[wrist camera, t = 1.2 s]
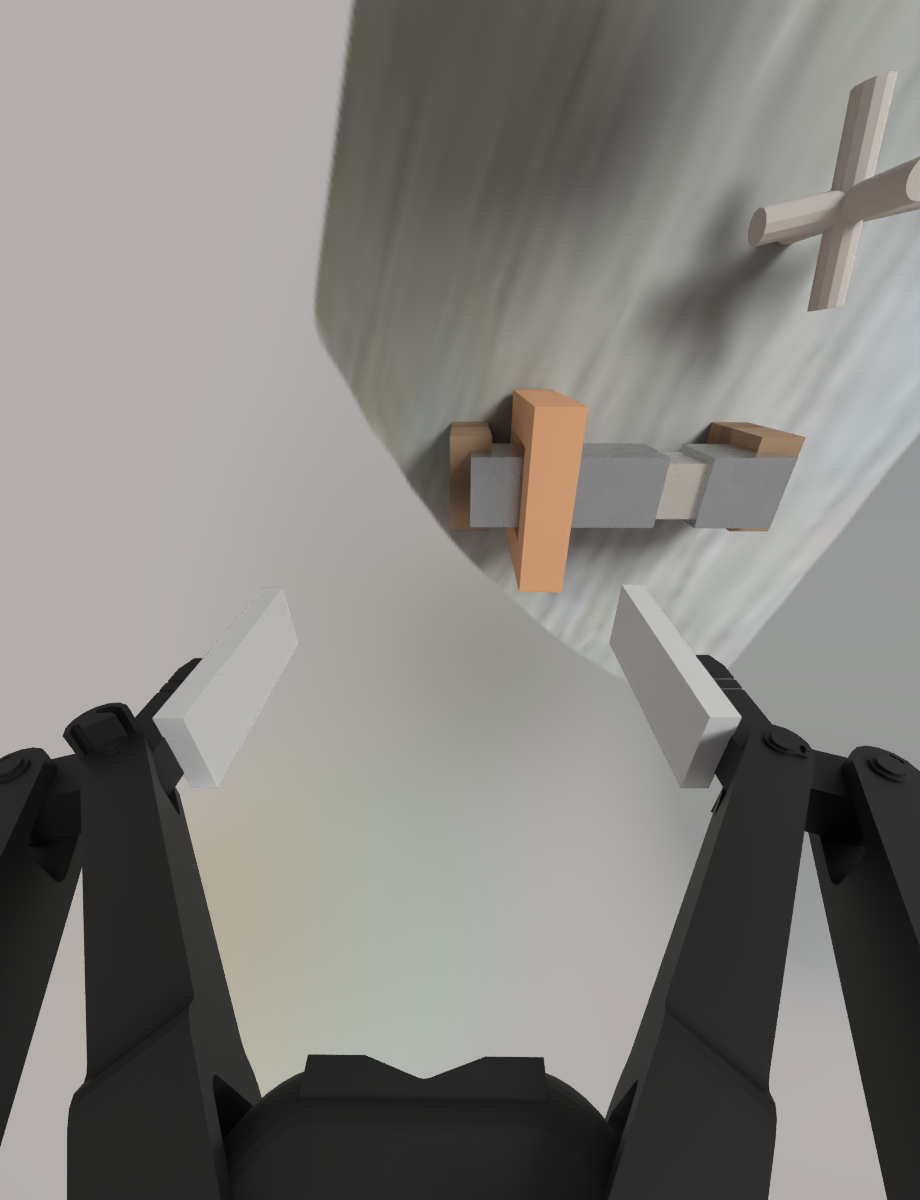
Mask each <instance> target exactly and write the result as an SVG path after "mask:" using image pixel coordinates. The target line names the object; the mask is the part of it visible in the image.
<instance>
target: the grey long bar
mask: <svg viewBox="0 0 920 1200" xmlns="http://www.w3.org/2000/svg"><path fill="white" fill-rule="evenodd" d="M524 456H525V446H524V445H523V443H492V451H471V467H470V527H519V521H520V508H521V495H522V482H523V469H524ZM797 459H798V458H795V457H792V456H789V455H786V454H783V453H780V452H756V451H753V450H750V449H747V448H744V447H742V446H739V445H736V444H682V447H681V451H680V452H659V451H657V450H655V449H653V448H651V447H649V446H647V445H645V444H583V448H582V455H581V462H580V469H579V476H578V483H577V490H576V497H575V503H574V510H573V517H572V524H571V528H653V527H654V523H655V519H683V520H684V521H686V522H687V523H688V524H689V525H691V526H692V527H693V528H770V526H771V523H772V521H773V518H774V516H775V513H776V511H777V508H778V506H779V503H780V501H781V498H782V496H783V493H784V491H785V488H786V486H787V484H788V481H789V479H790V476H791V474H792V471H793V469H794V466H795V464H796V461H797Z"/></svg>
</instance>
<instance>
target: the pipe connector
mask: <svg viewBox="0 0 920 1200" xmlns="http://www.w3.org/2000/svg"><path fill="white" fill-rule="evenodd" d="M896 77H897V71H892V72H887V73H884V74H881V75H878V76H875V77H873V78H871V79H869V80H866V81H864V82H862V83H861V84H859V85H857V86H855V87H854V88H853V89H852V90H851V91H850V96H849V101H848V106H847V112H846V117H845V122H844V127H843V132H842V137H841V142H840V147H839V152H838V157H837V163H836V168H835V173H834V178H833V183H832V188H831V191H828V192H824V193H820V194H815V195H811V196H807V197H803V198H799V199H794V200H790V201H786V202H782V203H778V204H773V205H769V206H765V207H761V208H759V209H758V210H757V211H756V212H755V213H754V215H753V217H752V219H751V221H750V226H749V230H748V241H749V244H750V246H753V247H756V246H760V245H765V244H769V243H773V242H779V243H780V244H782V245H788V244H791V243H794V242H797V241H800V240H803V239H806V238H809V237H812V236H815V235H818V234H822V233H823V234H822V239H821V244H820V249H819V254H818V259H817V265H816V270H815V275H814V280H813V285H812V290H811V295H810V300H809V305H808V310H807V311H815V310H822V309H827V308H832V307H837V306H842V305H844V302H845V297H846V293H847V289H848V284H849V280H850V276H851V271H852V267H853V263H854V258H855V254H856V250H857V245H858V241H859V237H860V233H861V228H862V224H863V222H865V221H869V220H874V219H878V218H882V217H887V216H891V215H896V214H900V213H904V212H909V211H913V210H917V209H920V157H917V158H915V159H913V160H910V161H908V162H906V163H903V164H901V165H899V166H896V167H894V168H892V169H889V170H887V171H885V172H882V173H880V174H878V175H875V176H874V172H875V168H876V163H877V159H878V155H879V150H880V146H881V142H882V137H883V133H884V129H885V125H886V120H887V116H888V112H889V107H890V103H891V99H892V94H893V90H894V86H895V81H896Z"/></svg>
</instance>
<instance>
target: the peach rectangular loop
mask: <svg viewBox="0 0 920 1200" xmlns="http://www.w3.org/2000/svg"><path fill="white" fill-rule="evenodd" d="M587 414H588V406H585V405H583V404H581V403H579V402H577V401H574V400H572V399H570V398H568V397H566V396H563V395H561V394H559V393H557V392H555V391H553V390H514V391H513V408H512V425H511V442H510V443H523V445H524V446H525V456H524V469H523V482H522V495H521V508H520V521H519V527H505V531H506V535H507V540H508V544H509V549H510V553H511V558H512V562H513V566H514V571H515V575H516V580H517V584H518V589H519V592H562V586H563V579H564V572H565V565H566V559H567V552H568V545H569V538H570V531H571V524H572V517H573V510H574V503H575V497H576V490H577V483H578V476H579V469H580V462H581V455H582V448H583V441H584V434H585V428H586V421H587Z"/></svg>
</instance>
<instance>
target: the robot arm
mask: <svg viewBox="0 0 920 1200" xmlns="http://www.w3.org/2000/svg"><path fill="white" fill-rule="evenodd" d="M610 645H611V647H612V649H613V651H614V653H615V655H616V657H617V659H618V661H619V663H620V665H621V667H622V670H623V672H624V674H625V676H626V678H627V680H628V682H629V684H630V686H631V688H632V690H633V692H634V694H635V696H636V698H637V700H638V702H639V704H640V706H641V708H642V710H643V712H644V714H645V717H646V718H647V721H648V723H649V725H650V727H651V729H652V731H653V733H654V735H655V737H656V739H657V741H658V743H659V745H660V747H661V749H662V751H663V753H664V755H665V757H666V759H667V761H668V763H669V766H670V768H671V770H672V772H673V774H674V776H675V778H676V780H677V782H678V784H679V786H680V788H709V786H710V784H711V782H712V780H713V777H714V775H715V774H716V776H717V777H718V779H719V781H720V783H721V784H722V786H723V788H722V790H721V792H720V794H719V796H718V798H717V800H716V802H715V805H714V806H713V808H712V810H711V812H713V815H712V818H711V821H710V824H709V827H708V829H707V832H706V835H705V838H704V841H703V844H702V847H701V850H700V853H699V855H698V859H697V861H696V864H695V868H694V870H693V873H692V876H691V879H690V882H689V885H688V888H687V890H686V894H685V896H684V899H683V902H682V905H681V908H680V911H679V914H678V917H677V920H676V922H675V925H674V928H673V931H672V934H671V937H670V940H669V943H668V946H667V949H666V952H665V954H664V957H663V960H662V963H661V966H660V969H659V972H658V975H657V978H656V981H655V984H654V987H653V989H652V992H651V995H650V998H649V1001H648V1004H647V1007H646V1010H645V1013H644V1016H643V1018H642V1021H641V1025H640V1027H639V1030H638V1033H637V1036H636V1039H635V1042H634V1045H633V1047H632V1050H631V1053H630V1055H629V1058H628V1061H627V1063H626V1065H625V1067H624V1070H623V1072H622V1074H621V1077H620V1080H619V1082H618V1084H617V1087H616V1090H615V1092H614V1095H613V1098H612V1100H611V1103H610V1106H609V1109H608V1112H607V1115H606V1118H605V1119H604V1118H603V1116H602V1115H601V1114H600V1113H599V1111H598V1110H597V1109H596V1108H595V1107H593V1105H592V1104H591V1103H590V1102H589V1101H588V1100H587V1099H586V1098H585V1097H583V1096H582V1095H581V1094H580V1093H579V1092H577V1091H576V1090H575V1089H574V1088H572V1087H571V1086H570V1085H568V1084H566V1083H565V1082H563V1081H561V1080H560V1079H558V1078H556V1077H554V1076H551V1075H549V1074H547V1073H545V1066H544V1058H543V1057H542V1058H541V1057H483V1058H481V1059H478V1060H476V1061H473V1062H470V1063H468V1064H465V1065H463V1066H460V1067H457V1068H455V1069H452V1070H449V1071H447V1072H444V1073H441V1074H439V1075H436V1076H434V1077H431V1078H428V1079H421V1078H418V1077H415V1076H413V1075H410V1074H408V1073H406V1072H403V1071H401V1070H399V1069H396V1068H394V1067H392V1066H389V1065H387V1064H385V1063H382V1062H380V1061H378V1060H375V1059H373V1058H371V1057H368V1056H366V1055H308V1057H307V1062H306V1067H305V1071H304V1072H302V1073H299V1074H297V1075H295V1076H293V1077H291V1078H289V1079H288V1080H286V1081H284V1082H282V1083H281V1084H279V1085H278V1086H277V1087H275V1088H274V1089H273V1090H271V1091H270V1092H268V1093H267V1094H266V1095H265V1096H264V1097H263V1098H262V1097H261V1094H260V1090H259V1087H258V1083H257V1081H256V1078H255V1075H254V1073H253V1070H252V1068H251V1065H250V1063H249V1061H248V1059H247V1056H246V1054H245V1051H244V1048H243V1045H242V1042H241V1038H240V1034H239V1031H238V1026H237V1022H236V1018H235V1015H234V1010H233V1006H232V1002H231V998H230V994H229V990H228V986H227V982H226V979H225V974H224V970H223V966H222V962H221V958H220V954H219V951H218V946H217V942H216V938H215V934H214V930H213V927H212V922H211V919H210V914H209V910H208V907H207V903H206V898H205V894H204V890H203V886H202V882H201V878H200V874H199V870H198V866H197V862H196V858H195V854H194V850H193V847H192V842H191V839H190V835H189V830H188V826H187V823H186V818H185V815H184V811H183V806H182V802H181V799H180V794H179V793H178V791H177V789H176V788H175V786H176V785H177V783H178V782H179V780H180V779H181V777H182V776H183V774H184V776H185V778H186V780H187V781H188V783H189V785H190V787H192V788H197V787H198V788H203V787H205V788H218V786H219V784H220V782H221V781H222V779H223V777H224V776H225V774H226V772H227V770H228V769H229V767H230V765H231V763H232V761H233V760H234V758H235V756H236V754H237V753H238V750H239V749H240V747H241V746H242V744H243V742H244V740H245V738H246V737H247V735H248V733H249V731H250V729H251V728H252V726H253V724H254V723H255V721H256V719H257V717H258V715H259V714H260V712H261V710H262V708H263V706H264V704H265V703H266V701H267V699H268V698H269V695H270V694H271V692H272V691H273V689H274V687H275V685H276V684H277V682H278V680H279V678H280V676H281V675H282V673H283V671H284V669H285V668H286V666H287V664H288V662H289V661H290V659H291V657H292V655H293V653H294V652H295V650H296V648H297V646H298V641H297V637H296V633H295V630H294V626H293V622H292V618H291V615H290V611H289V608H288V604H287V600H286V596H285V592H284V589H283V587H263V588H262V589H261V591H260V592H259V593H258V594H257V595H256V597H255V598H254V599H253V600H252V601H251V603H250V604H249V605H248V606H247V607H246V608H245V610H244V611H243V612H242V613H241V614H240V615H239V617H238V618H237V619H236V620H235V621H234V623H233V624H232V625H231V626H230V627H229V628H228V630H227V631H226V632H225V633H224V634H223V635H222V637H221V638H220V639H219V640H218V641H217V643H216V644H215V645H214V646H213V647H212V648H211V650H210V651H209V652H208V653H207V655H205V657H204V658H194V659H193V660H191V661H190V662H188V663H187V664H185V665H184V666H182V667H181V668H179V669H178V670H177V671H176V672H175V674H174V675H173V676H172V677H171V678H170V679H169V680H168V683H166V684H165V685H164V686H163V687H162V688H161V689H160V692H159V693H157V694H156V695H155V696H154V697H153V698H152V699H151V700H150V702H149V703H148V704H147V705H146V706H145V707H144V708H143V709H142V710H141V712H140V713H139V714H138V715H137V716H136V717H135V718H134V716H133V714H132V712H131V711H130V709H129V708H128V706H127V705H125V704H122V703H109V704H105V705H102V706H98V707H95V708H93V709H91V710H89V711H87V712H85V713H83V714H81V715H80V716H79V717H77V718H76V719H74V720H73V721H72V722H71V723H70V724H69V725H68V726H67V727H66V728H65V731H64V734H63V737H64V738H65V740H66V741H67V743H68V744H69V745H70V747H71V748H72V749H73V751H74V752H75V753H76V754H72V755H68V756H64V757H59V758H55V759H51V758H50V757H49V756H48V755H47V753H46V752H45V751H44V750H43V749H41V748H27V749H22V750H19V751H16V752H14V753H11V754H8V755H6V756H4V757H3V758H0V1146H1V1142H2V1139H3V1135H4V1132H5V1129H6V1125H7V1121H8V1118H9V1115H10V1112H11V1108H12V1105H13V1101H14V1098H15V1094H16V1091H17V1087H18V1084H19V1080H20V1077H21V1074H22V1070H23V1067H24V1064H25V1060H26V1057H27V1053H28V1050H29V1046H30V1043H31V1040H32V1036H33V1033H34V1029H35V1026H36V1022H37V1019H38V1015H39V1012H40V1008H41V1005H42V1002H43V999H44V995H45V992H46V988H47V985H48V981H49V978H50V975H51V971H52V967H53V964H54V961H55V957H56V954H57V951H58V947H59V944H60V940H61V937H62V934H63V930H64V927H65V923H66V920H67V916H68V913H69V910H70V906H71V902H72V899H73V896H74V892H75V889H76V886H77V882H78V879H79V875H80V872H81V869H82V873H83V914H84V956H85V994H86V995H85V996H86V1035H87V1074H86V1078H85V1082H84V1083H83V1084H82V1085H81V1087H80V1088H79V1089H78V1090H77V1091H76V1092H75V1093H74V1095H73V1098H72V1101H71V1105H70V1108H69V1116H68V1127H67V1200H768V1195H769V1187H770V1179H771V1171H772V1163H773V1155H774V1147H775V1138H776V1123H777V1117H776V1106H775V1103H774V1100H773V1098H772V1096H771V1094H770V1092H769V1073H770V1066H771V1059H772V1052H773V1045H774V1038H775V1031H776V1025H777V1017H778V1010H779V1004H780V997H781V989H782V982H783V976H784V969H785V962H786V955H787V948H788V941H789V934H790V927H791V920H792V914H793V907H794V900H795V892H796V886H797V878H798V872H799V865H800V858H801V851H802V844H803V837H804V831H806V832H808V833H809V837H810V842H811V847H812V852H813V856H814V861H815V865H816V870H817V875H818V879H819V883H820V889H821V893H822V898H823V903H824V907H825V912H826V917H827V921H828V926H829V931H830V935H831V940H832V945H833V949H834V954H835V959H836V963H837V968H838V972H839V977H840V982H841V986H842V991H843V996H844V1000H845V1005H846V1010H847V1014H848V1019H849V1023H850V1028H851V1033H852V1037H853V1042H854V1046H855V1051H856V1056H857V1060H858V1065H859V1070H860V1075H861V1079H862V1084H863V1089H864V1093H865V1098H866V1103H867V1107H868V1112H869V1117H870V1121H871V1126H872V1131H873V1135H874V1140H875V1144H876V1149H877V1153H878V1158H879V1163H880V1168H881V1173H882V1177H883V1182H884V1186H885V1191H886V1195H887V1200H920V771H919V770H918V769H916V768H915V767H914V766H913V765H911V764H910V763H909V762H908V761H906V760H904V759H903V758H901V757H899V756H897V755H895V754H894V753H891V752H889V751H886V750H883V749H880V748H876V747H871V746H862V747H857V748H856V749H854V750H853V751H852V752H851V754H850V755H849V757H848V758H846V757H841V756H838V755H833V754H829V753H825V752H821V751H816V750H813V749H811V747H810V746H809V744H808V743H807V742H806V741H805V740H803V739H802V738H801V737H799V736H798V735H797V734H795V733H793V732H791V731H790V730H788V729H786V728H783V727H779V726H776V725H772V724H771V722H770V721H769V720H768V719H767V718H766V716H765V715H764V714H763V713H762V712H761V710H760V709H759V708H758V707H757V705H756V704H755V703H754V702H753V700H752V699H751V698H750V697H749V696H748V695H747V693H746V692H745V691H744V690H742V687H741V686H740V684H739V683H738V682H737V681H736V680H734V678H733V676H732V675H731V674H730V672H729V671H728V670H727V669H726V667H725V666H724V665H723V664H721V663H720V662H718V661H717V660H715V659H714V658H712V657H711V656H710V655H695V654H694V653H693V651H692V650H691V649H690V647H689V646H688V645H687V643H686V642H685V641H684V639H683V638H682V637H681V635H680V634H679V633H678V631H677V630H676V629H675V627H674V626H673V625H672V623H671V622H670V621H669V619H668V618H667V617H666V615H665V614H664V613H663V611H662V610H661V609H660V607H659V606H658V605H657V603H656V602H655V601H654V599H653V598H652V597H651V595H650V594H649V593H648V591H647V590H646V589H645V587H644V586H643V585H622V587H621V592H620V596H619V601H618V606H617V610H616V615H615V620H614V625H613V629H612V634H611V639H610Z"/></svg>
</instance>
